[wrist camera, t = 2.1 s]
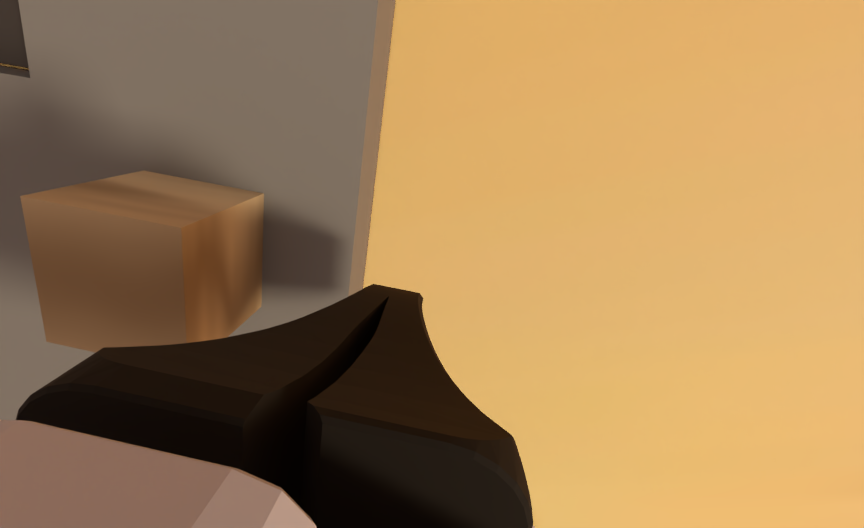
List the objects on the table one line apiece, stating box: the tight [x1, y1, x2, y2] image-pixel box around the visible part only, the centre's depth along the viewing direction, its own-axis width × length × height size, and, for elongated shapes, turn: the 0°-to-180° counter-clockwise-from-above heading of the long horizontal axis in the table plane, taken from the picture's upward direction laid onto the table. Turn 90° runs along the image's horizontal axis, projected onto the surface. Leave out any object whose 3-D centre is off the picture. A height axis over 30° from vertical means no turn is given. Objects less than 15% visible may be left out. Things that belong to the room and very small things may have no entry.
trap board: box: [0, 0, 395, 420], centre depth 16 cm, size 20×22×2 cm
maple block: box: [20, 171, 264, 352], centre depth 13 cm, size 4×4×4 cm
